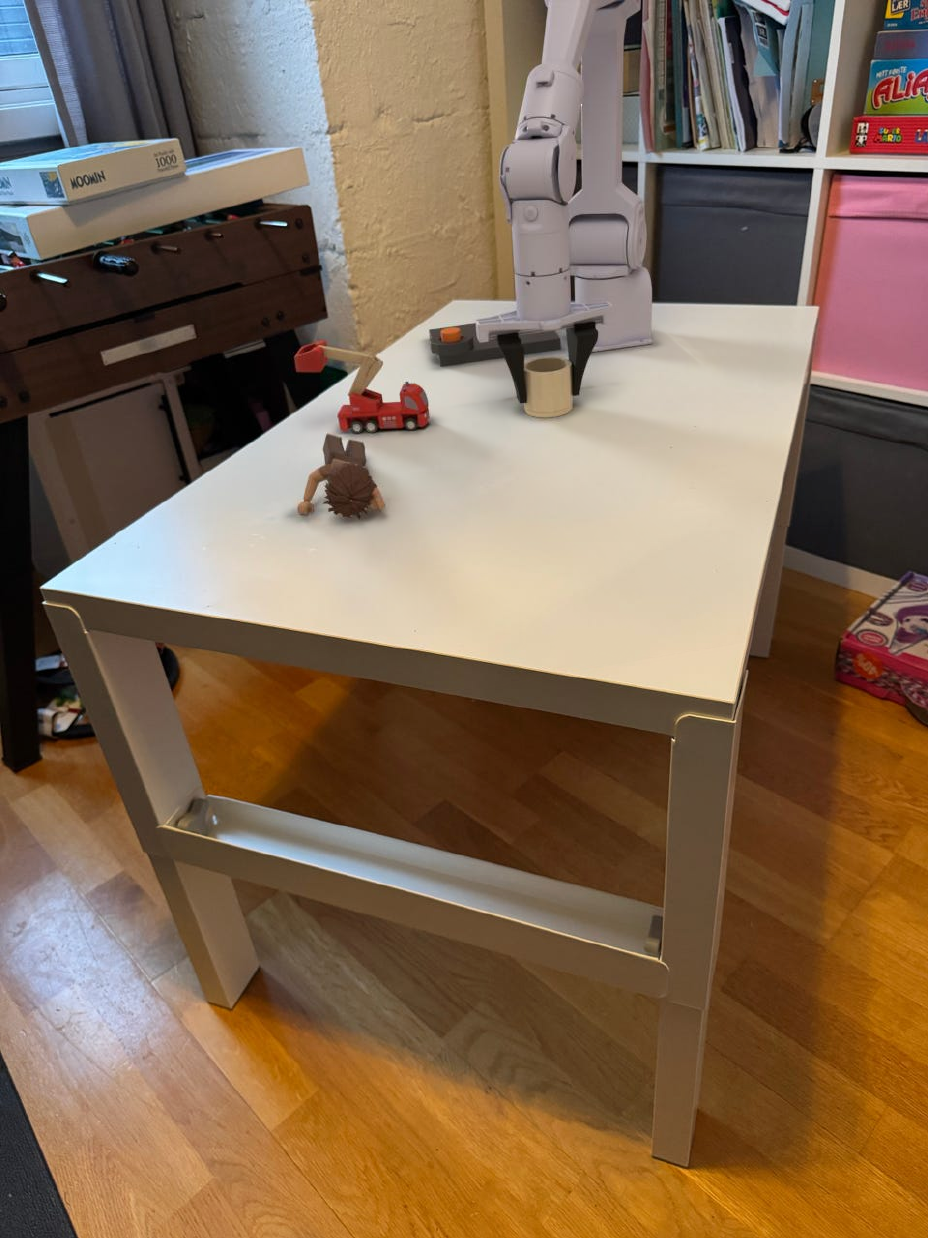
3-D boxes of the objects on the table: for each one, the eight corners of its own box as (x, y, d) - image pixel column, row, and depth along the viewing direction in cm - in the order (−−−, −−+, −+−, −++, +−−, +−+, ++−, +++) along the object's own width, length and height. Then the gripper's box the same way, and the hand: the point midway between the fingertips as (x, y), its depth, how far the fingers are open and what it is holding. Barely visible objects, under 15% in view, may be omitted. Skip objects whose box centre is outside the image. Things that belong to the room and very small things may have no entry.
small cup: (566, 396, 102) (564, 353, 99) (578, 413, 97) (576, 369, 94) (520, 403, 101) (517, 360, 98) (530, 420, 97) (527, 376, 94)
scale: (541, 325, 125) (540, 303, 123) (562, 352, 115) (561, 328, 113) (424, 341, 124) (422, 319, 122) (435, 370, 113) (432, 347, 112)
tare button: (459, 336, 116) (458, 325, 115) (462, 342, 113) (461, 331, 113) (440, 339, 115) (439, 328, 115) (442, 344, 113) (441, 334, 113)
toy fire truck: (428, 430, 97) (417, 343, 92) (309, 436, 99) (291, 351, 94) (432, 418, 100) (422, 333, 95) (315, 424, 102) (299, 341, 96)
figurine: (302, 487, 93) (304, 545, 80) (283, 441, 90) (282, 493, 77) (375, 462, 93) (388, 516, 80) (358, 415, 90) (369, 463, 77)
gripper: (478, 288, 87) (489, 418, 95) (621, 268, 88) (621, 399, 96) (468, 271, 93) (479, 396, 100) (602, 253, 94) (603, 378, 101)
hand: (547, 396), depth 98 cm, fingers closed on small cup, 5 cm apart
